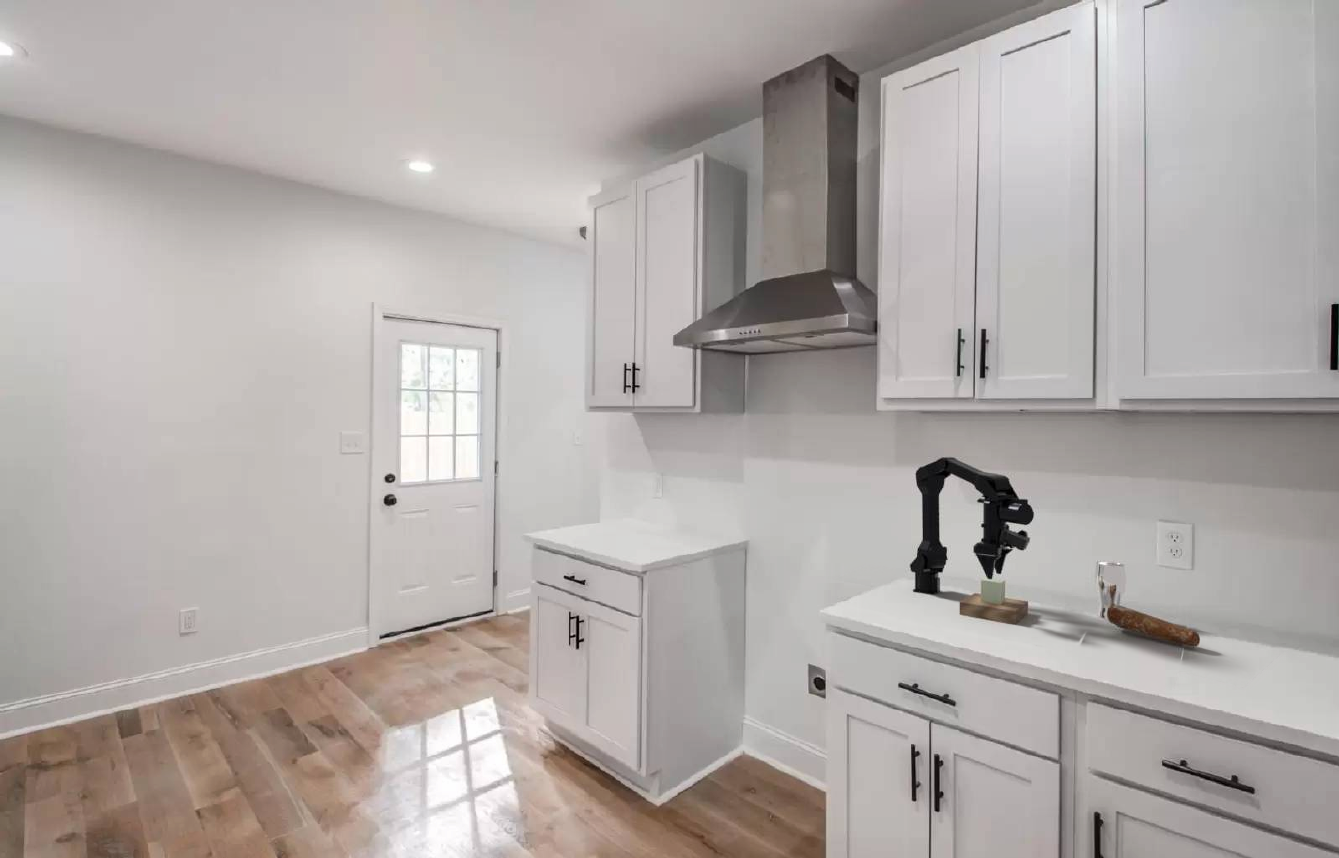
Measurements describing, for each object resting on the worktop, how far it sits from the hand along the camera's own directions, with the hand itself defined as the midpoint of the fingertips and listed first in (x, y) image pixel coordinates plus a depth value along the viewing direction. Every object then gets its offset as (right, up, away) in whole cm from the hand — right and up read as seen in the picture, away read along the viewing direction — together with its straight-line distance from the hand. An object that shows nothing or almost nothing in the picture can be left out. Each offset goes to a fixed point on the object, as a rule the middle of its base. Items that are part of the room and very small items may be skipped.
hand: (994, 576), depth 181 cm
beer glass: (+30, -11, -3) cm, 32 cm away
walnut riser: (0, -11, 0) cm, 11 cm away
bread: (+26, -12, -19) cm, 35 cm away
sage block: (0, -7, 0) cm, 7 cm away
